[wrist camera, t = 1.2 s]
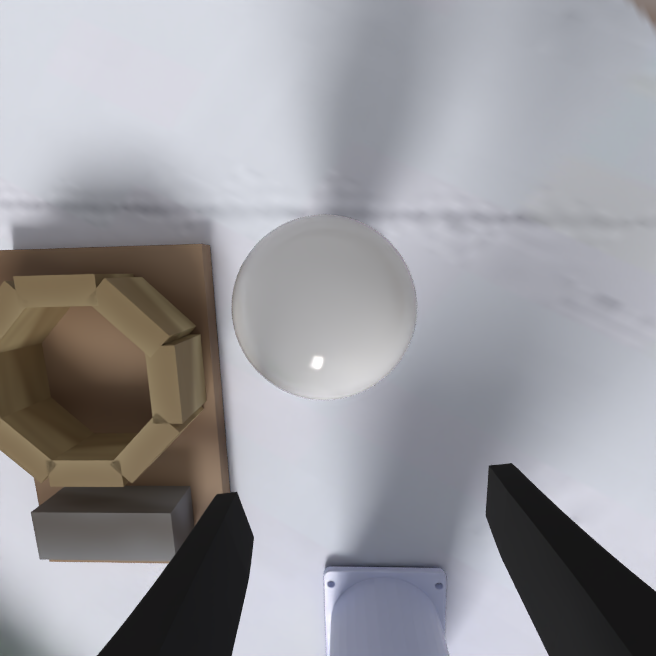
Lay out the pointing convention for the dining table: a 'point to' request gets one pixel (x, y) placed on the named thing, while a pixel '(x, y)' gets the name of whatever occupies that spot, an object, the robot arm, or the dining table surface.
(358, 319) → the lightbulb
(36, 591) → the dining table surface
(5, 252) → the jig
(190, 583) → the robot arm
